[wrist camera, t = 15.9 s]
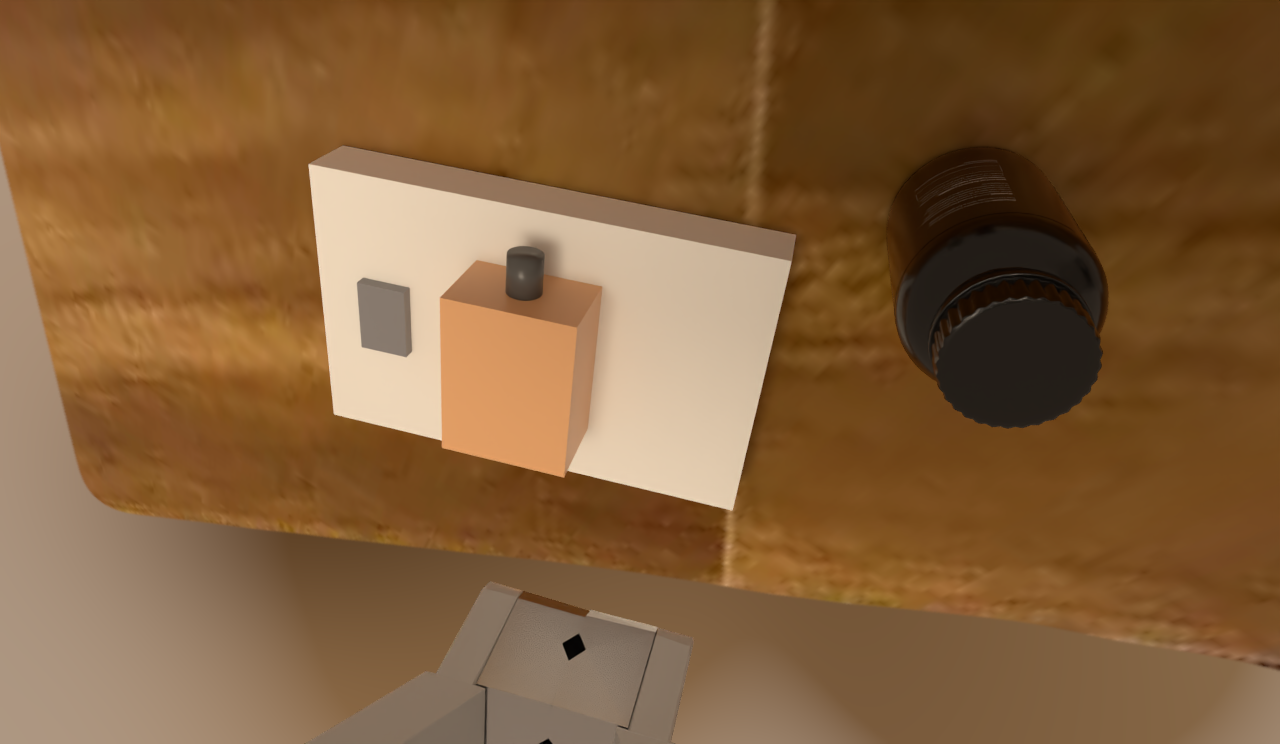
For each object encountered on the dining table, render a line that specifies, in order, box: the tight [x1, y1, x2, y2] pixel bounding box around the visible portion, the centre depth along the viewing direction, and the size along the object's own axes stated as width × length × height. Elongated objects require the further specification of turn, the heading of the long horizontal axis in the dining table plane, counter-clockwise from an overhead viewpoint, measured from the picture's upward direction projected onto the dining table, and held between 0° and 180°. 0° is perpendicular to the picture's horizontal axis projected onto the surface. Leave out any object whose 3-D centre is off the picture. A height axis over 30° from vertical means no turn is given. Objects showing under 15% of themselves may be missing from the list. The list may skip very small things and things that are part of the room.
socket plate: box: [309, 146, 796, 510], centre depth 41 cm, size 22×14×4 cm, turn 83°
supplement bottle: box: [887, 147, 1109, 429], centre depth 30 cm, size 7×7×12 cm
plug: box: [440, 246, 602, 477], centre depth 39 cm, size 6×10×6 cm, turn 173°
